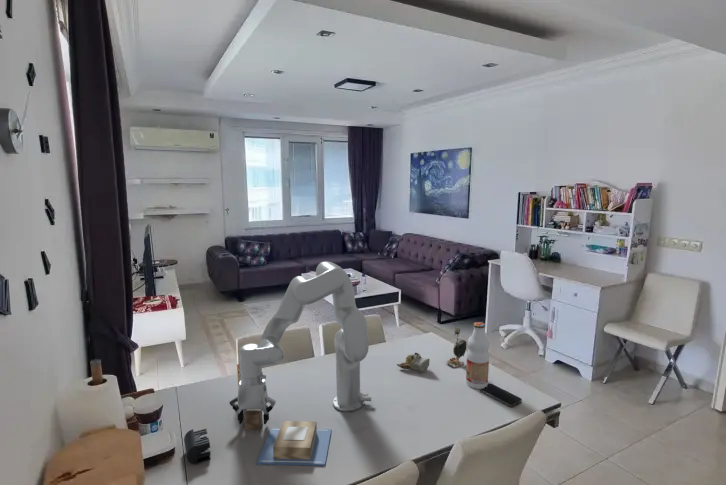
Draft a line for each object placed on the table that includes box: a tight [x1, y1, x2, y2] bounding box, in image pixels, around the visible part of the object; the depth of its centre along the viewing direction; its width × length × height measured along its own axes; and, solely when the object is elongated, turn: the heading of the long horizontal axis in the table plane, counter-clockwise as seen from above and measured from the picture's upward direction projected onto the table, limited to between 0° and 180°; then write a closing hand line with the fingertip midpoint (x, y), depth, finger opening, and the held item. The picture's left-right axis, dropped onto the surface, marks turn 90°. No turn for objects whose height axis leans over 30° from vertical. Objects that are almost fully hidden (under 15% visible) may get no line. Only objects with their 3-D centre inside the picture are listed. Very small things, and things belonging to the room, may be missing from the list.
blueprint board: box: [256, 427, 332, 467], centre depth 136 cm, size 22×18×1 cm
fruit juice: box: [465, 321, 490, 390], centre depth 175 cm, size 9×9×28 cm
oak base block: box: [273, 420, 318, 459], centre depth 136 cm, size 12×14×5 cm
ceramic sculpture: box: [396, 352, 430, 374], centre depth 191 cm, size 11×9×15 cm
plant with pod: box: [445, 326, 468, 368], centre depth 195 cm, size 8×11×20 cm
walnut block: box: [244, 409, 264, 431], centre depth 147 cm, size 5×5×6 cm
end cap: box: [183, 428, 212, 465], centre depth 132 cm, size 10×7×7 cm
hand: (253, 421), depth 147 cm, fingers open, 8 cm apart
